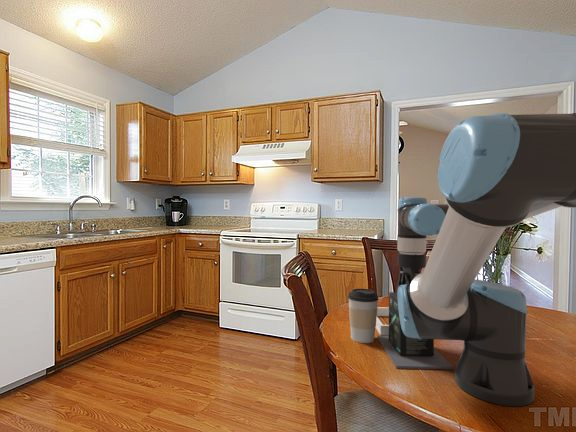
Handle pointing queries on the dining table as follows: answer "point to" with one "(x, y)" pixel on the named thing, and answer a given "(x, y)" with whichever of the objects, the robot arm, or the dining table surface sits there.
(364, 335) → the coffee cup
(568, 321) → the dining table surface
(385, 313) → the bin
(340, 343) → the dining table surface
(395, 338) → the tampon box
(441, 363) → the thin grey tile
